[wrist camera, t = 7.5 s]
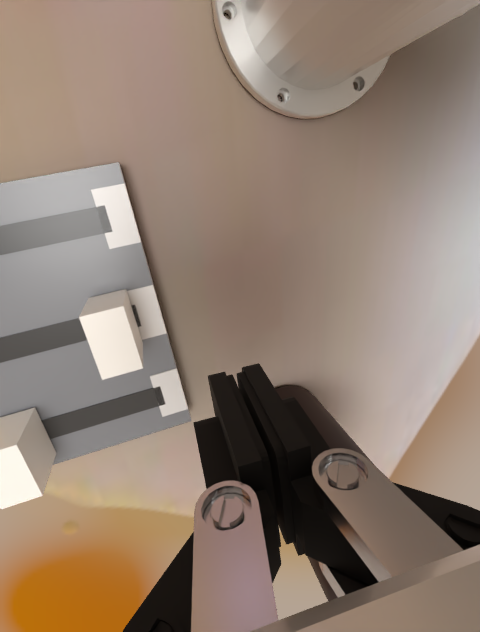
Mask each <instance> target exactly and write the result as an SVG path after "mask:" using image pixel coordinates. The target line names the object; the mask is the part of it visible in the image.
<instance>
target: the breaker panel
mask: <svg viewBox="0 0 480 632" xmlns="http://www.w3.org/2000/svg"><path fill="white" fill-rule="evenodd" d="M123 289H126V290H127V294H128V297H129V300H130V303H131V307H132V310H133V313H134V316H135V319H136V323H137V326H138V329H139V332H140V335H141V339H142V342H143V369H139V370H136V371H132V372H129V373H125V374H122V375H118V376H115V377H111V378H107V379H104V380H102V378H101V375H100V373H99V370H98V367H97V365H96V362H95V359H94V357H93V354H92V351H91V348H90V346H89V343H88V340H87V338H86V335H85V332H84V330H83V327H82V324H81V322H80V319H79V316H80V314H81V312H82V310H83V308H84V306H85V304H86V302H87V300H88V298H90V297H94V296H99V295H103V294H107V293H111V292H115V291H119V290H123ZM31 408H36V410H37V413H38V415H39V417H40V419H41V421H42V423H43V425H44V428H45V430H46V432H47V434H48V436H49V438H50V440H51V443H52V445H53V447H54V449H55V451H56V456H55V459H54V462H53V465H54V464H57V463H60V462H63V461H66V460H70V459H73V458H76V457H79V456H82V455H85V454H89V453H92V452H95V451H98V450H101V449H104V448H107V447H111V446H114V445H117V444H120V443H123V442H126V441H130V440H133V439H136V438H139V437H142V436H145V435H149V434H152V433H155V432H158V431H161V430H164V429H167V428H171V427H174V426H177V425H180V424H183V423H186V422H190V421H191V417H190V412H189V408H188V404H187V401H186V397H185V394H184V390H183V386H182V383H181V379H180V376H179V372H178V369H177V365H176V361H175V358H174V354H173V351H172V347H171V344H170V340H169V336H168V333H167V329H166V326H165V322H164V319H163V315H162V312H161V308H160V304H159V301H158V297H157V294H156V290H155V287H154V283H153V279H152V276H151V272H150V269H149V265H148V262H147V258H146V254H145V251H144V247H143V244H142V240H141V237H140V233H139V229H138V226H137V222H136V219H135V215H134V212H133V208H132V204H131V201H130V197H129V194H128V190H127V187H126V183H125V179H124V176H123V172H122V169H121V165H120V163H119V162H118V163H112V164H106V165H101V166H95V167H89V168H84V169H78V170H72V171H67V172H61V173H56V174H50V175H44V176H39V177H33V178H27V179H22V180H16V181H10V182H5V183H0V417H4V416H7V415H11V414H14V413H18V412H21V411H25V410H28V409H31Z"/></svg>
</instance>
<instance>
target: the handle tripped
mask: <svg viewBox="0 0 480 632" xmlns="http://www.w3.org/2000/svg"><path fill="white" fill-rule="evenodd" d="M79 319H80V322H81V324H82V327H83V330H84V332H85V335H86V338H87V340H88V343H89V346H90V348H91V351H92V354H93V357H94V359H95V362H96V365H97V367H98V370H99V373H100V375H101V378H102V380H104V379H107V378H111V377H115V376H118V375H122V374H125V373H129V372H132V371H136V370H139V369H143V342H142V339H141V335H140V332H139V329H138V326H137V323H136V319H135V316H134V313H133V310H132V307H131V303H130V300H129V297H128V294H127V290H126V289H123V290H119V291H115V292H111V293H107V294H103V295H99V296H94V297H90V298H88V300H87V302H86V304H85V306H84V308H83V310H82V312H81V314H80V316H79Z"/></svg>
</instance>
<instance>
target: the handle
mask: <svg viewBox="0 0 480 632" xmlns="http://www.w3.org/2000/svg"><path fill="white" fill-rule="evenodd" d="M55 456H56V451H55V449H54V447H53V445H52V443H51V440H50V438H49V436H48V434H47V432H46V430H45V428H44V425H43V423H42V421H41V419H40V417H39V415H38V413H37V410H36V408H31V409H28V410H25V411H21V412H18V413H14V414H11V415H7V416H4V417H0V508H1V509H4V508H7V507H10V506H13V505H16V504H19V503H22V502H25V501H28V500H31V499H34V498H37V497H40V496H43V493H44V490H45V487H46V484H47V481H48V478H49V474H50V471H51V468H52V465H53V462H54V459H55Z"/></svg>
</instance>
